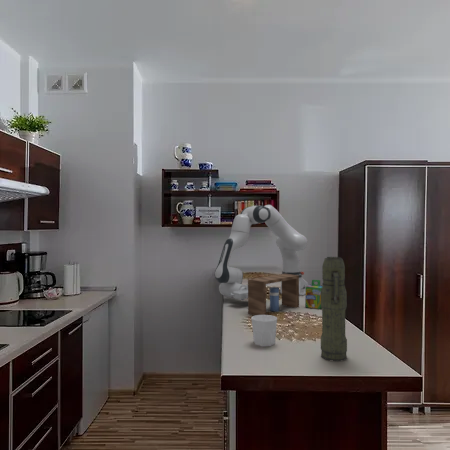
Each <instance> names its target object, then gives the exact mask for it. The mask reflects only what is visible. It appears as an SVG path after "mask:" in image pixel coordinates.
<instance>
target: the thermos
mask: <svg viewBox="0 0 450 450" xmlns="http://www.w3.org/2000/svg"><path fill="white" fill-rule="evenodd" d="M321 270H322V271H321V272H322V290H321V308H322V309H321V329H322V330H321V336H320V351H321V352H320V353H321V354H320V356H321V358H322V359H324V360H326V359H327V361H330V360H333V361H332V362H342V361H341V360H343V361H346V360H347V352H348V339H347V337H346V310H347V307H348V303H347V300H348V299H347V294H348V292H347V289H346V284H345V281H346V277H345V276H346V273H345V272H346V267H345V261H344V260H343V258H342V257H340V256H326V257H325V258H324V261H323V263H322V269H321Z"/></svg>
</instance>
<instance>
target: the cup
mask: <svg viewBox="0 0 450 450" xmlns="http://www.w3.org/2000/svg"><path fill="white" fill-rule="evenodd" d="M250 320H251V328H252V335H253V338H252V339H253V343H254V345H255V346H260V347H271V346H273V345H276V339H277V337H276V336H277V323H278V317H277V316H274V315H270V314H266V315H253V316H251V319H250Z"/></svg>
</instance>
